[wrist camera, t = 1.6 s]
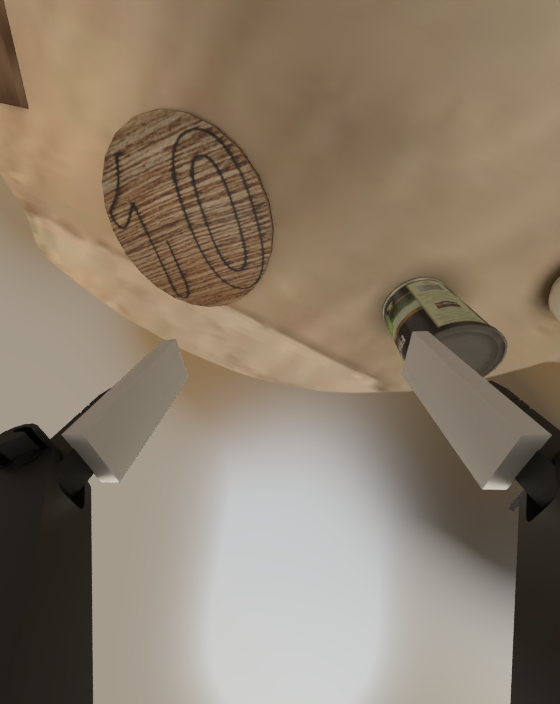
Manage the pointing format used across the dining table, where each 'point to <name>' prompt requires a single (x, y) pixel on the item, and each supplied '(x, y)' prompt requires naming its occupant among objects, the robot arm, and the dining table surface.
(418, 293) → the coffee can
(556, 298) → the lidded jar
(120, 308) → the dining table surface
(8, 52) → the button console
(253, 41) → the dining table surface
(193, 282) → the trivet
